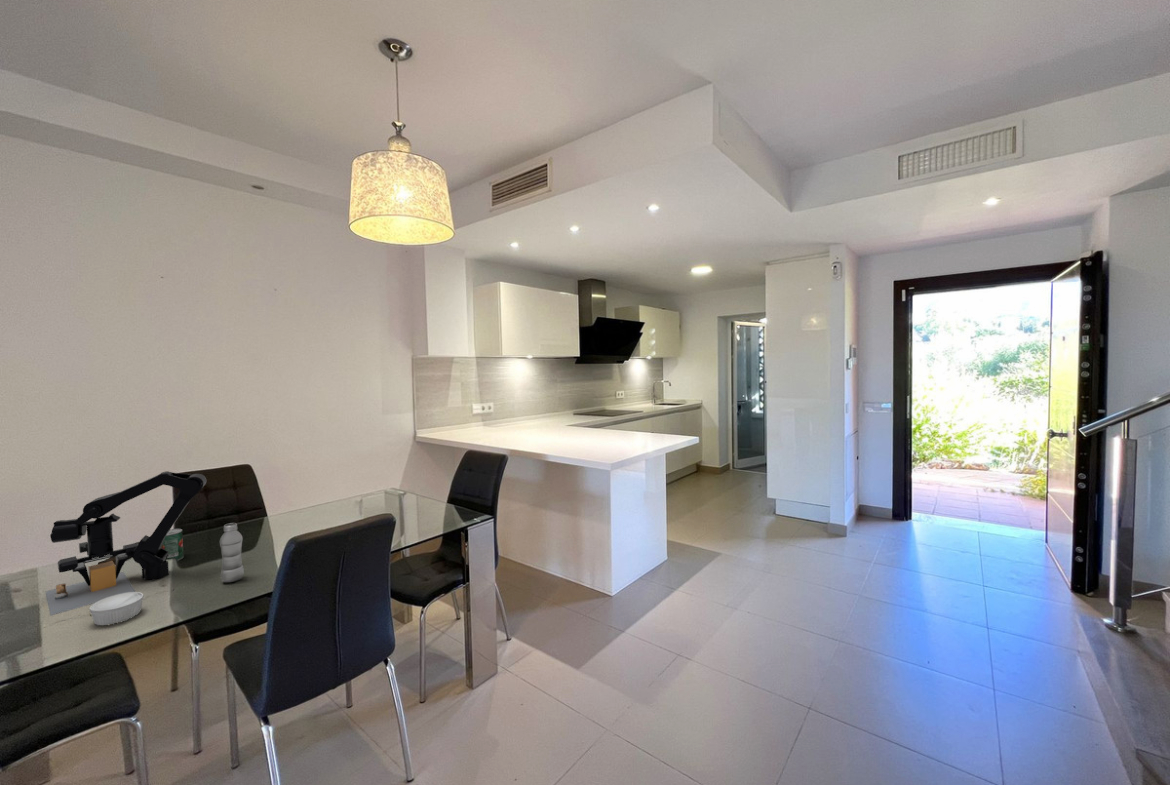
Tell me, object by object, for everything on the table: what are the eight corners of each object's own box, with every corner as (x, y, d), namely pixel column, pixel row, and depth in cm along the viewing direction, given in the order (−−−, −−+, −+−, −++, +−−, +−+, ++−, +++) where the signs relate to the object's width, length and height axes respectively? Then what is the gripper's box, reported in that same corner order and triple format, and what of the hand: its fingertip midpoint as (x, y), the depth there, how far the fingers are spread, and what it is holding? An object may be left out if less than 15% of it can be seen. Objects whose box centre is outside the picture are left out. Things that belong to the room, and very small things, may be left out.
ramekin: (146, 617, 134) (145, 599, 134) (90, 633, 126) (89, 615, 126) (142, 604, 142) (141, 587, 142) (90, 618, 133) (89, 601, 133)
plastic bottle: (239, 574, 162) (236, 520, 161) (248, 579, 158) (245, 523, 157) (217, 582, 156) (214, 525, 155) (226, 586, 153) (223, 529, 152)
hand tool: (109, 571, 166) (108, 558, 165) (96, 572, 165) (96, 559, 165) (149, 551, 184) (149, 539, 184) (138, 551, 184) (137, 540, 183)
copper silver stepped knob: (71, 594, 144) (70, 582, 144) (60, 599, 142) (59, 587, 141) (62, 594, 145) (62, 582, 144) (52, 599, 142) (51, 586, 142)
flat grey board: (136, 595, 147) (135, 591, 147) (50, 620, 132) (50, 615, 132) (123, 575, 161) (123, 571, 161) (45, 595, 147) (45, 591, 147)
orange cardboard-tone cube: (116, 585, 151) (115, 565, 150) (91, 592, 146) (90, 571, 146) (113, 580, 154) (112, 560, 154) (89, 587, 150) (88, 566, 149)
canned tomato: (150, 563, 172) (148, 535, 171) (172, 555, 179) (171, 528, 179) (167, 564, 170) (165, 536, 170) (189, 556, 178) (187, 529, 177)
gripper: (134, 523, 162) (137, 565, 163) (54, 539, 147) (57, 585, 148) (140, 530, 155) (143, 574, 156) (57, 547, 140) (60, 595, 141)
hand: (102, 581), depth 150 cm, fingers open, 6 cm apart
